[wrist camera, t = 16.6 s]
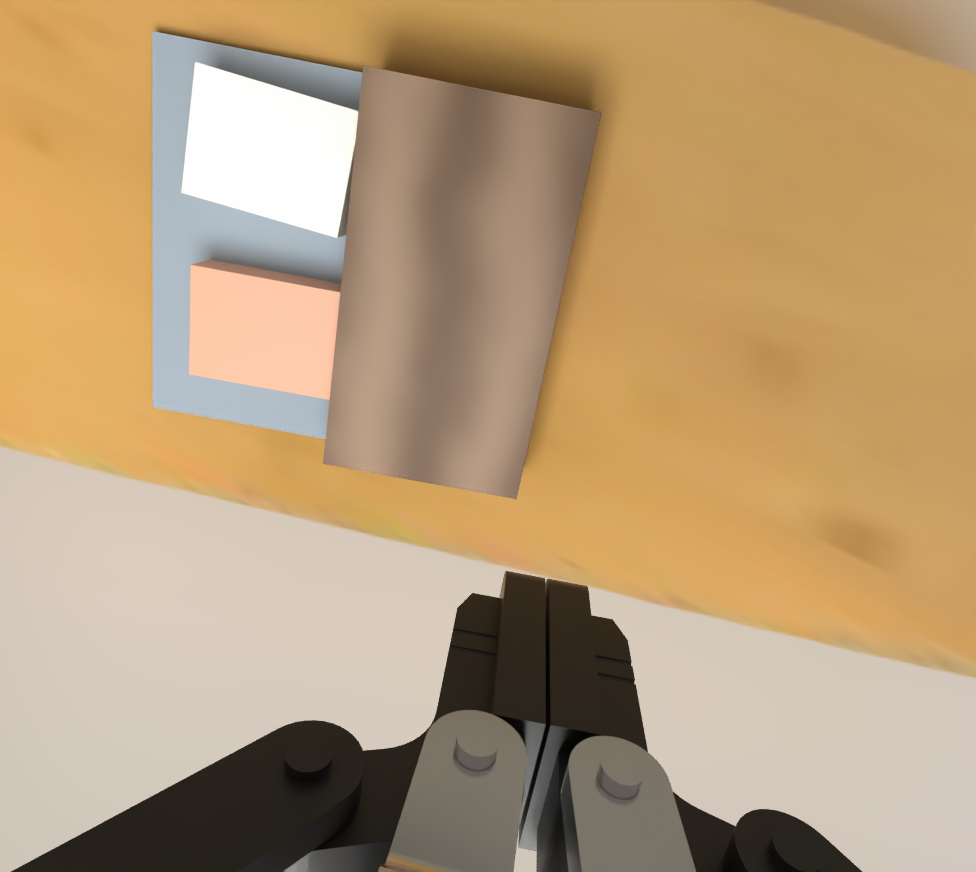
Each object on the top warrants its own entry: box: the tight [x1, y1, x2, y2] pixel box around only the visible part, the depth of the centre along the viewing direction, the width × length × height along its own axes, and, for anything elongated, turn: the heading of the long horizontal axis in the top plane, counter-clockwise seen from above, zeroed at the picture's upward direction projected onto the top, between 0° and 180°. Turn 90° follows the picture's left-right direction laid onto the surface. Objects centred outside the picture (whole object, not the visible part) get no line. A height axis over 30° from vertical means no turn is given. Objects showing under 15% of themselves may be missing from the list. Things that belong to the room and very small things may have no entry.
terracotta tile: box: [189, 259, 341, 400], centre depth 38 cm, size 8×6×2 cm
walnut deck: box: [323, 66, 601, 499], centre depth 36 cm, size 11×20×4 cm, turn 170°
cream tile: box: [181, 62, 358, 238], centre depth 34 cm, size 8×6×2 cm
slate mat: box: [152, 31, 362, 439], centre depth 38 cm, size 11×20×1 cm, turn 170°
